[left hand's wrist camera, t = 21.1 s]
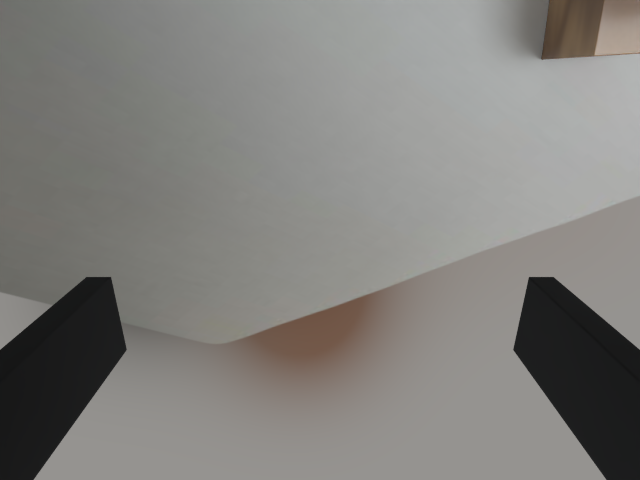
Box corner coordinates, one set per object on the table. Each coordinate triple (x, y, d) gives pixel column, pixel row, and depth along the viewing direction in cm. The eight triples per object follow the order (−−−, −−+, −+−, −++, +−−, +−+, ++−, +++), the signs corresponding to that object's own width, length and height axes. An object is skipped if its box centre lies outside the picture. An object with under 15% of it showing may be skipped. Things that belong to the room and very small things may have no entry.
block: (621, 54, 43) (693, 50, 35) (541, 59, 43) (593, 56, 35) (642, -48, 40) (727, -79, 31) (555, -42, 40) (617, -72, 32)
